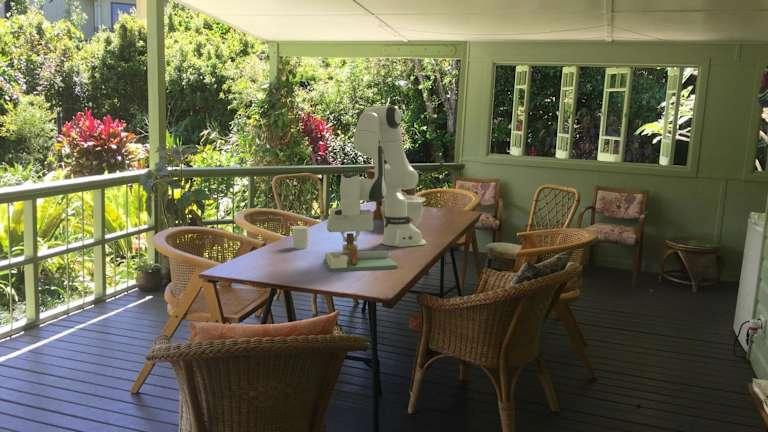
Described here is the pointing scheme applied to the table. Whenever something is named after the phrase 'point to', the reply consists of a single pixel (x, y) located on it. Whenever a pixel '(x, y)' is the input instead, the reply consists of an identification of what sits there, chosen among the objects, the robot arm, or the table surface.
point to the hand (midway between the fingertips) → (350, 241)
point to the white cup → (300, 236)
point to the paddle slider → (351, 248)
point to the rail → (366, 255)
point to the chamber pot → (410, 208)
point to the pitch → (340, 264)
